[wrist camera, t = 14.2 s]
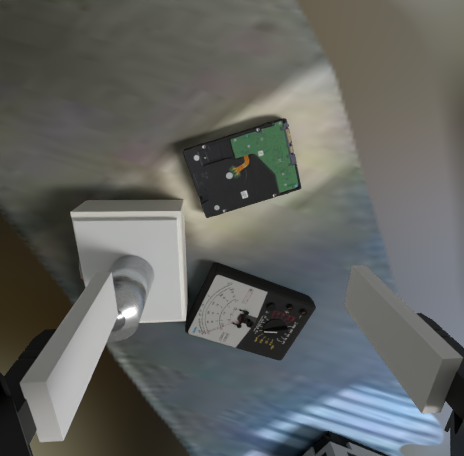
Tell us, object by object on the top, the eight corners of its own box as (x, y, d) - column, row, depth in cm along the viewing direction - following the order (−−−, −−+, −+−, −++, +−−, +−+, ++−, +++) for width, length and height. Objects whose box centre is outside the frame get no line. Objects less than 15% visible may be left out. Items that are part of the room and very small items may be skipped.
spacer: (106, 256, 38) (75, 297, 30) (151, 254, 39) (134, 295, 30) (113, 293, 41) (86, 343, 32) (156, 291, 41) (141, 340, 32)
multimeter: (277, 347, 56) (283, 368, 51) (185, 319, 52) (183, 339, 47) (311, 295, 52) (321, 312, 47) (214, 259, 48) (214, 275, 43)
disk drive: (206, 213, 45) (297, 184, 44) (206, 220, 42) (303, 189, 42) (183, 149, 41) (282, 116, 40) (181, 151, 38) (287, 116, 38)
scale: (81, 200, 42) (61, 214, 36) (183, 199, 43) (179, 212, 37) (99, 302, 48) (85, 328, 42) (187, 299, 50) (185, 324, 44)
